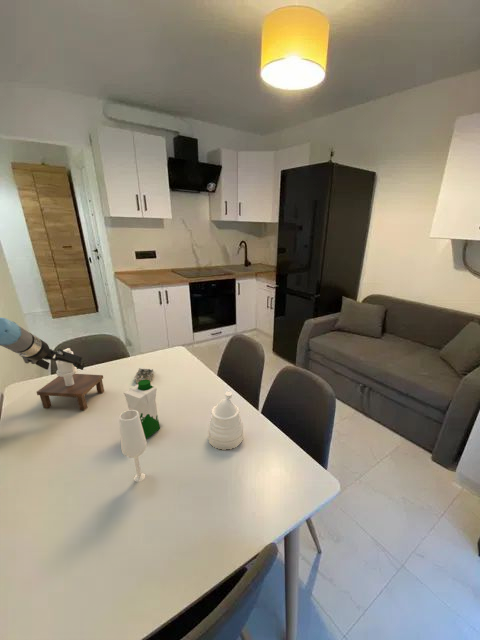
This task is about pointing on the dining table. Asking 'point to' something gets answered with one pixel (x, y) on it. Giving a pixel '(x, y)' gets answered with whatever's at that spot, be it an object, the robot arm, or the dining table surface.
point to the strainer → (66, 370)
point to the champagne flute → (132, 438)
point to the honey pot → (225, 425)
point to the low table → (71, 389)
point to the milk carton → (144, 405)
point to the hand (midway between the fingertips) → (65, 366)
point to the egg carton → (143, 375)
